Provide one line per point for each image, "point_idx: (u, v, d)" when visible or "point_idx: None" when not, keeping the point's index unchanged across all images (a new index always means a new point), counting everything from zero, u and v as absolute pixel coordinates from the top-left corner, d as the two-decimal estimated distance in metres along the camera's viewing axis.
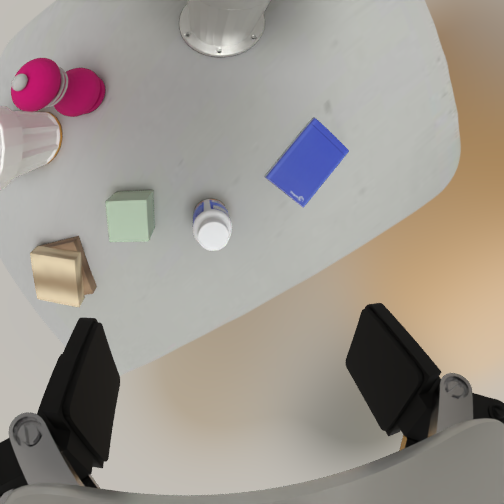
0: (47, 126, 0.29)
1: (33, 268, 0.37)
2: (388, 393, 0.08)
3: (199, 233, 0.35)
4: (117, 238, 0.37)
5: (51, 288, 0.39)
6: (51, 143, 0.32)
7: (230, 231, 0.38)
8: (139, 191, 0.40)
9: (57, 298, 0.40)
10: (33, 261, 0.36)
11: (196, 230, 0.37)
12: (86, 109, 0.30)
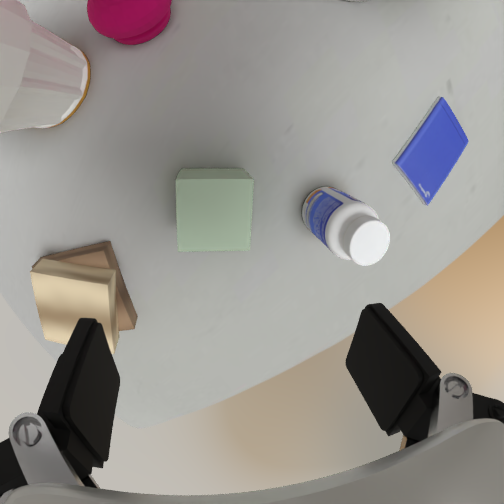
0: (71, 53, 0.15)
1: (36, 295, 0.23)
2: (388, 393, 0.08)
3: (353, 238, 0.21)
4: (193, 246, 0.23)
5: (67, 326, 0.25)
6: (73, 84, 0.18)
7: None
8: (222, 169, 0.26)
9: None
10: (36, 285, 0.22)
11: (336, 233, 0.23)
12: (147, 25, 0.16)
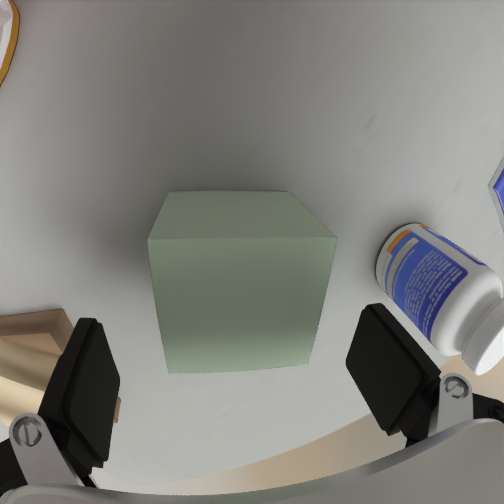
0: None
1: None
2: (388, 393, 0.08)
3: (489, 346, 0.08)
4: (200, 365, 0.11)
5: None
6: None
7: None
8: (249, 193, 0.14)
9: None
10: None
11: (455, 327, 0.10)
12: None
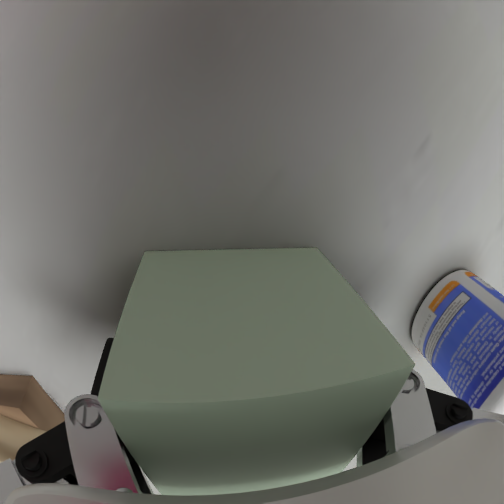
0: None
1: None
2: None
3: None
4: (203, 493, 0.06)
5: None
6: None
7: None
8: (263, 256, 0.09)
9: None
10: None
11: None
12: None
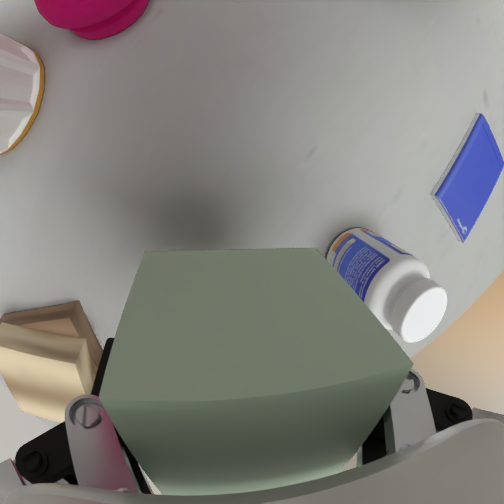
0: (12, 54, 0.08)
1: (0, 368, 0.15)
2: None
3: (407, 314, 0.14)
4: (202, 492, 0.06)
5: (41, 401, 0.17)
6: (17, 97, 0.11)
7: None
8: (263, 256, 0.09)
9: (56, 416, 0.18)
10: None
11: (381, 302, 0.16)
12: (112, 5, 0.09)
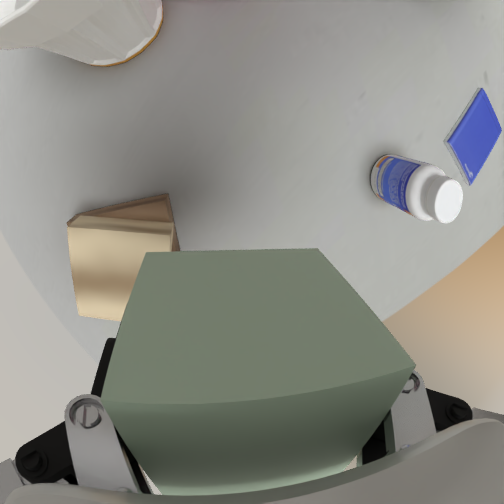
0: None
1: (72, 258, 0.21)
2: None
3: (438, 194, 0.19)
4: (204, 493, 0.06)
5: (111, 294, 0.23)
6: (150, 18, 0.16)
7: None
8: (264, 257, 0.09)
9: (121, 312, 0.24)
10: (74, 244, 0.20)
11: (418, 191, 0.21)
12: None
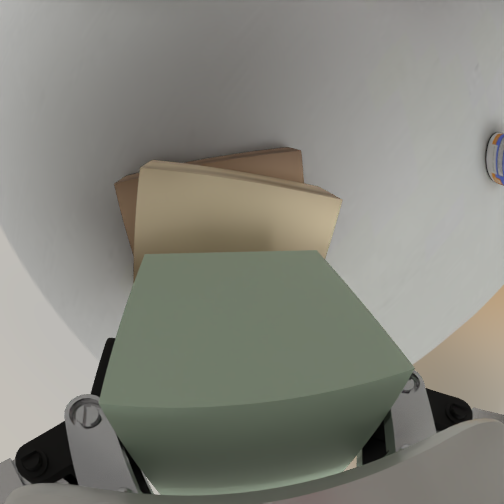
0: None
1: (141, 232, 0.12)
2: None
3: None
4: None
5: None
6: None
7: None
8: (263, 259, 0.09)
9: None
10: (150, 204, 0.11)
11: None
12: None
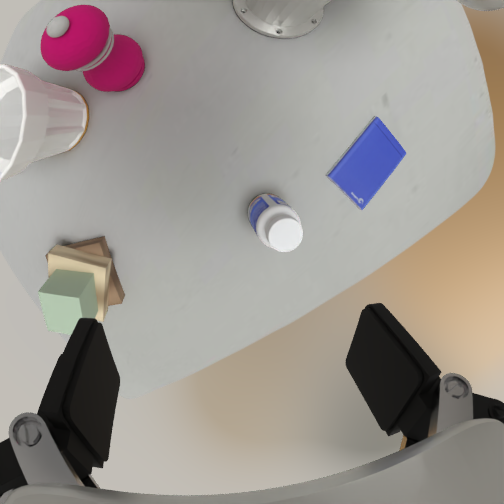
0: (74, 102, 0.25)
1: (50, 271, 0.32)
2: (388, 393, 0.08)
3: (270, 231, 0.30)
4: (55, 329, 0.29)
5: None
6: (77, 124, 0.27)
7: None
8: (78, 274, 0.32)
9: None
10: (51, 263, 0.31)
11: (262, 228, 0.32)
12: (126, 82, 0.25)
